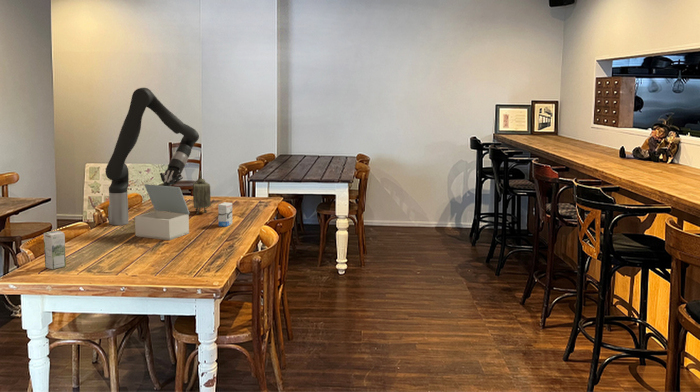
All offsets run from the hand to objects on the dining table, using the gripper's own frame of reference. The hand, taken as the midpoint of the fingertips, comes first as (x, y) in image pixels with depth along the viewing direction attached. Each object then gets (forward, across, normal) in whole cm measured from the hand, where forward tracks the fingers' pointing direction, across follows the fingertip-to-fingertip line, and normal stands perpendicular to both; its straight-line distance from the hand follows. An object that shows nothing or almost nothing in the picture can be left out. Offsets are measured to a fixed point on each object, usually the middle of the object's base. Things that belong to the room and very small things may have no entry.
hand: (164, 189), depth 304 cm
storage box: (+18, 0, +14) cm, 23 cm away
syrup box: (+62, -5, -32) cm, 70 cm away
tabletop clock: (-21, -14, +55) cm, 60 cm away
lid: (+2, 0, +5) cm, 6 cm away
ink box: (-5, +16, +38) cm, 41 cm away
